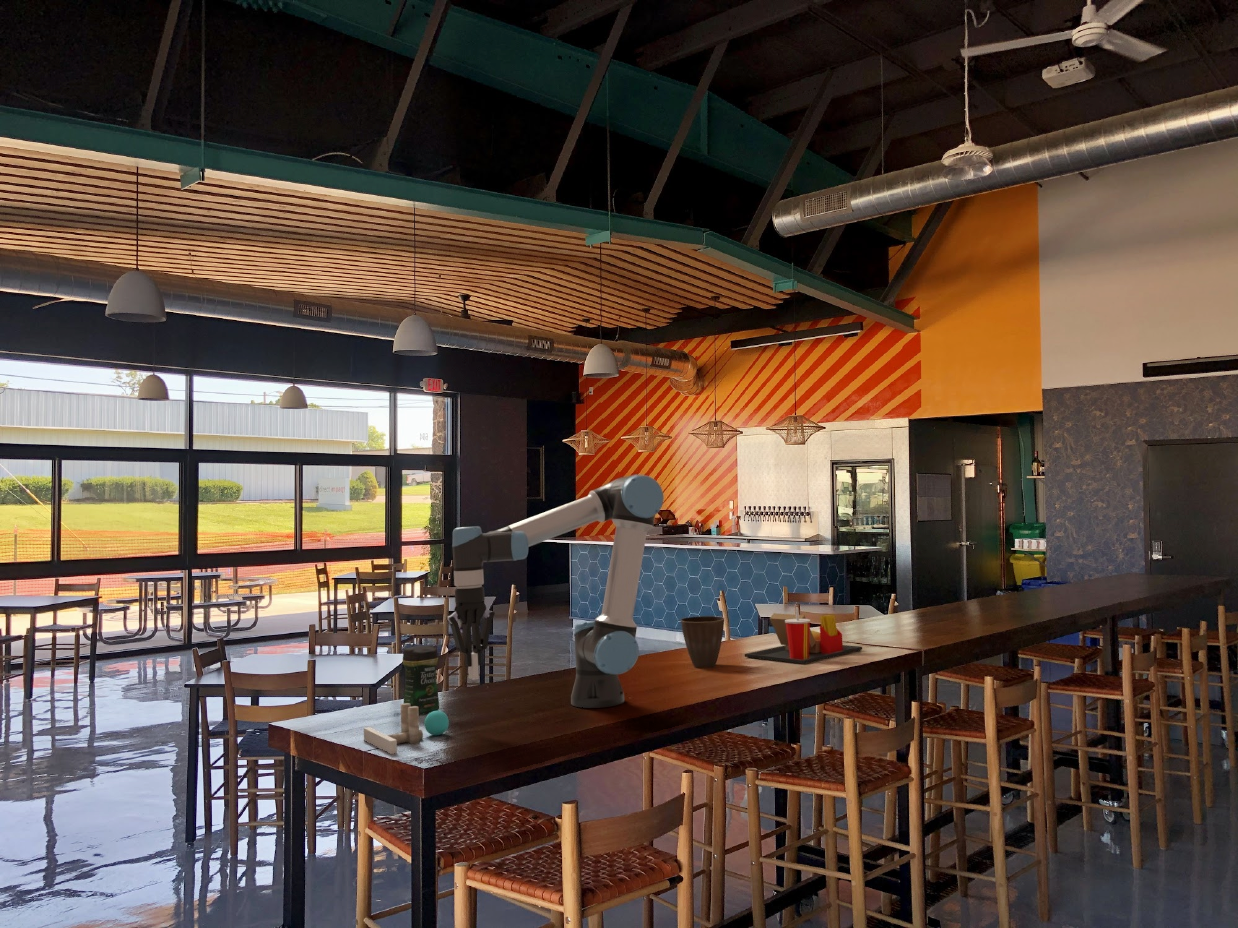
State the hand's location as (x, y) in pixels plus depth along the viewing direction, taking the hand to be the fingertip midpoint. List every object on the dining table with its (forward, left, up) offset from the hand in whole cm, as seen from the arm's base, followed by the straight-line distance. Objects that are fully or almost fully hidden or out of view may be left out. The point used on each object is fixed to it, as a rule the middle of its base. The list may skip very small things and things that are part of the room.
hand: (473, 678), depth 238 cm
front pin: (+15, 0, -12) cm, 19 cm away
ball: (+10, -1, -10) cm, 14 cm away
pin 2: (+18, +2, -13) cm, 22 cm away
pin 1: (+18, -3, -13) cm, 22 cm away
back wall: (+25, 0, -13) cm, 28 cm away
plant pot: (-99, -26, -13) cm, 103 cm away
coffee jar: (+2, -29, -13) cm, 32 cm away
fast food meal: (-138, -17, -13) cm, 140 cm away
